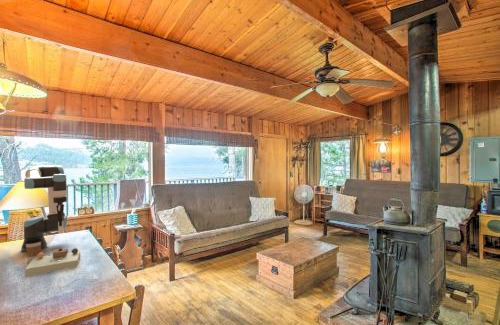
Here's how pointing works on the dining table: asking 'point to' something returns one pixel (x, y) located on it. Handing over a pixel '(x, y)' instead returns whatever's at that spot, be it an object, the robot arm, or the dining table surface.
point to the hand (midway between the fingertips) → (60, 230)
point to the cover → (60, 252)
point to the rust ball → (40, 255)
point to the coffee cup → (33, 247)
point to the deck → (52, 263)
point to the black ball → (74, 250)
